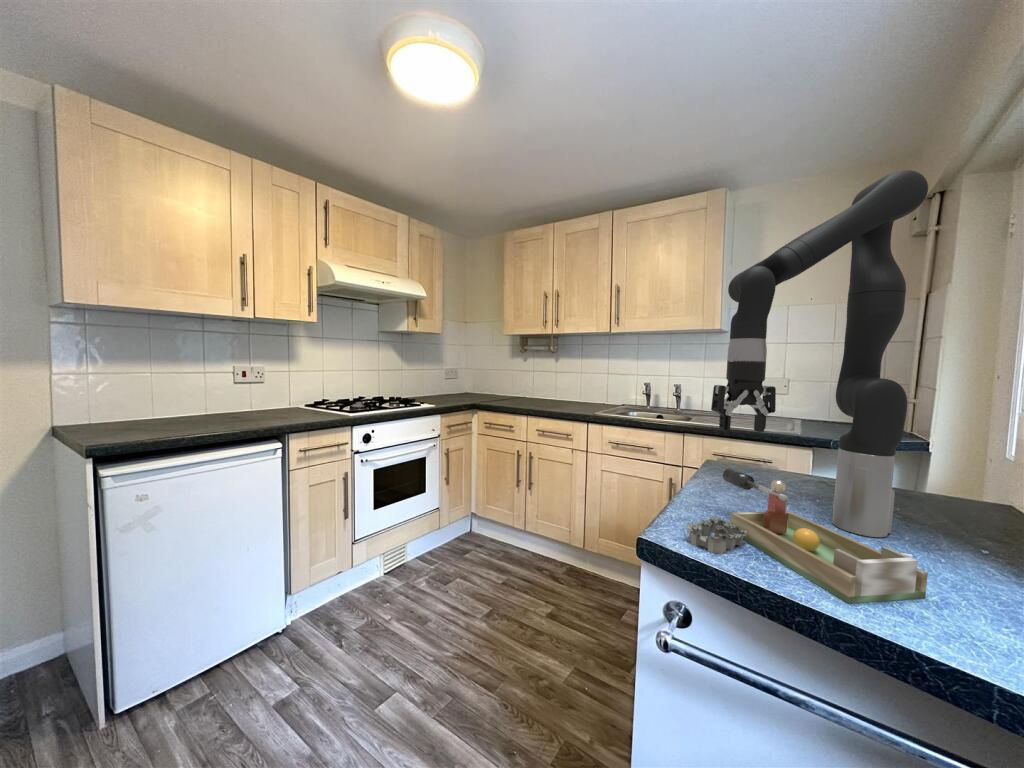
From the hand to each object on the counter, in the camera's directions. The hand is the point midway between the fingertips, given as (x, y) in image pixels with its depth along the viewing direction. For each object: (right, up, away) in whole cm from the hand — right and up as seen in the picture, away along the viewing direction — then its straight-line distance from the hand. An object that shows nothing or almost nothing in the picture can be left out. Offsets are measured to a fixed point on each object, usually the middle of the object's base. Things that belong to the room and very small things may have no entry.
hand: (742, 431), depth 90 cm
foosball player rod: (0, -19, -3) cm, 19 cm away
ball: (+2, -18, -16) cm, 24 cm away
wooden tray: (+3, -21, -18) cm, 28 cm away
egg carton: (-12, -21, -12) cm, 27 cm away
